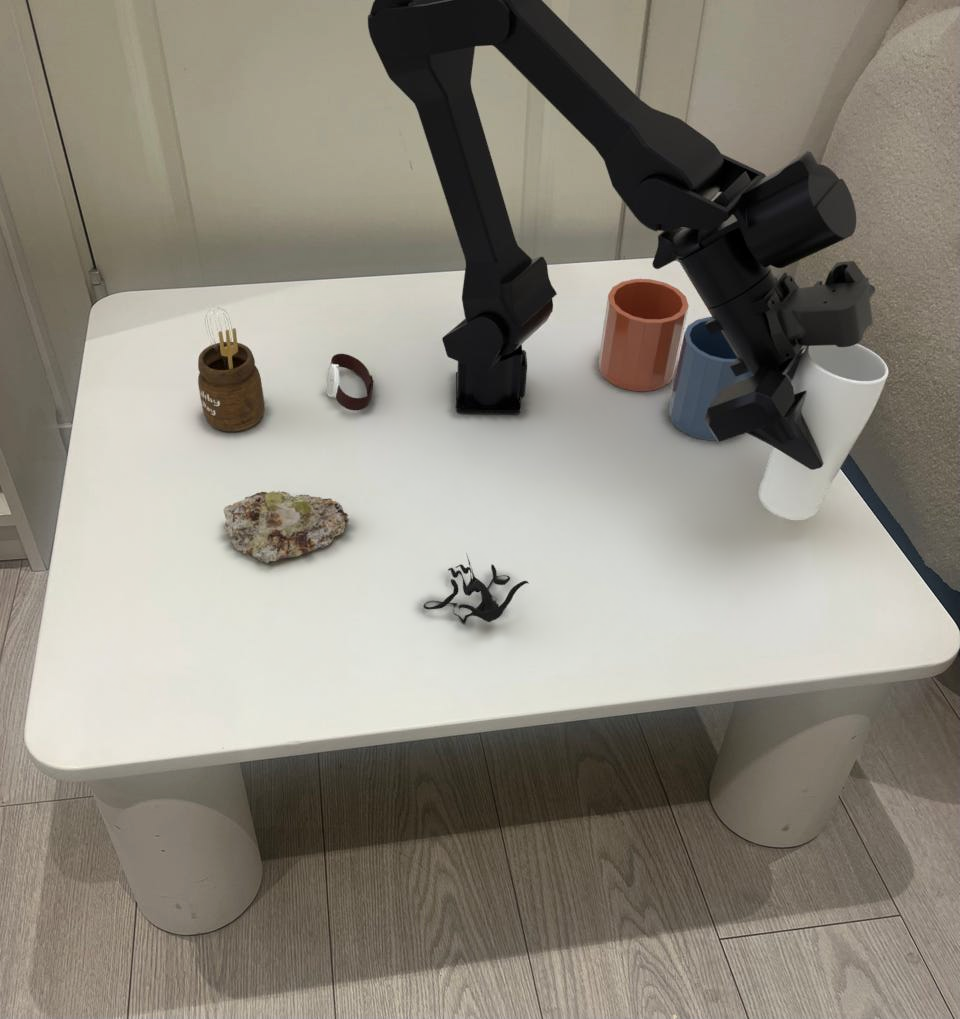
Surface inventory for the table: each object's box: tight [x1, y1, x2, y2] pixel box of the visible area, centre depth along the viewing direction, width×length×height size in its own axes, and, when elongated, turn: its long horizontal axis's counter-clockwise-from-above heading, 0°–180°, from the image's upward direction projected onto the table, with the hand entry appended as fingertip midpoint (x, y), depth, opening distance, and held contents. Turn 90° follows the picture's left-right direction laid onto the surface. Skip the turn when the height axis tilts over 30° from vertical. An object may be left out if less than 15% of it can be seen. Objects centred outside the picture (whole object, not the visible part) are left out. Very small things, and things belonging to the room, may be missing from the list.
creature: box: [423, 552, 530, 624], centre depth 82 cm, size 8×5×8 cm
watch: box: [325, 353, 375, 412], centre depth 102 cm, size 8×5×4 cm, turn 16°
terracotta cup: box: [598, 278, 690, 392], centre depth 105 cm, size 8×8×8 cm
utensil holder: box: [197, 307, 265, 432], centre depth 96 cm, size 6×6×12 cm
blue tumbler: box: [668, 316, 755, 441], centre depth 99 cm, size 7×7×10 cm
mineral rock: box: [223, 490, 350, 564], centre depth 88 cm, size 11×4×8 cm
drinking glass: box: [758, 343, 889, 521], centre depth 85 cm, size 7×7×15 cm
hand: (831, 445), depth 85 cm, fingers closed on drinking glass, 6 cm apart
